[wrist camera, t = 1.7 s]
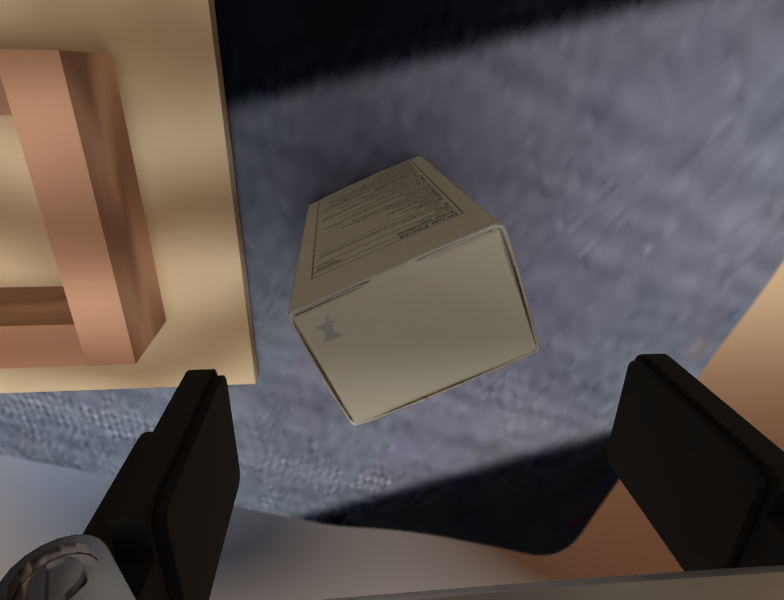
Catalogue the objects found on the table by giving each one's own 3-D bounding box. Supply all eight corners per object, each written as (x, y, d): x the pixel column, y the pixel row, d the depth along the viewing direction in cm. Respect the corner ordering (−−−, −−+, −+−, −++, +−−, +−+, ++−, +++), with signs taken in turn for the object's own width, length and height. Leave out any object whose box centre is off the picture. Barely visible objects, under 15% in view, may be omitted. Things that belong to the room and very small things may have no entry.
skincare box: (343, 277, 25) (342, 437, 14) (305, 202, 24) (271, 319, 12) (457, 229, 25) (548, 357, 14) (428, 149, 23) (506, 221, 12)
